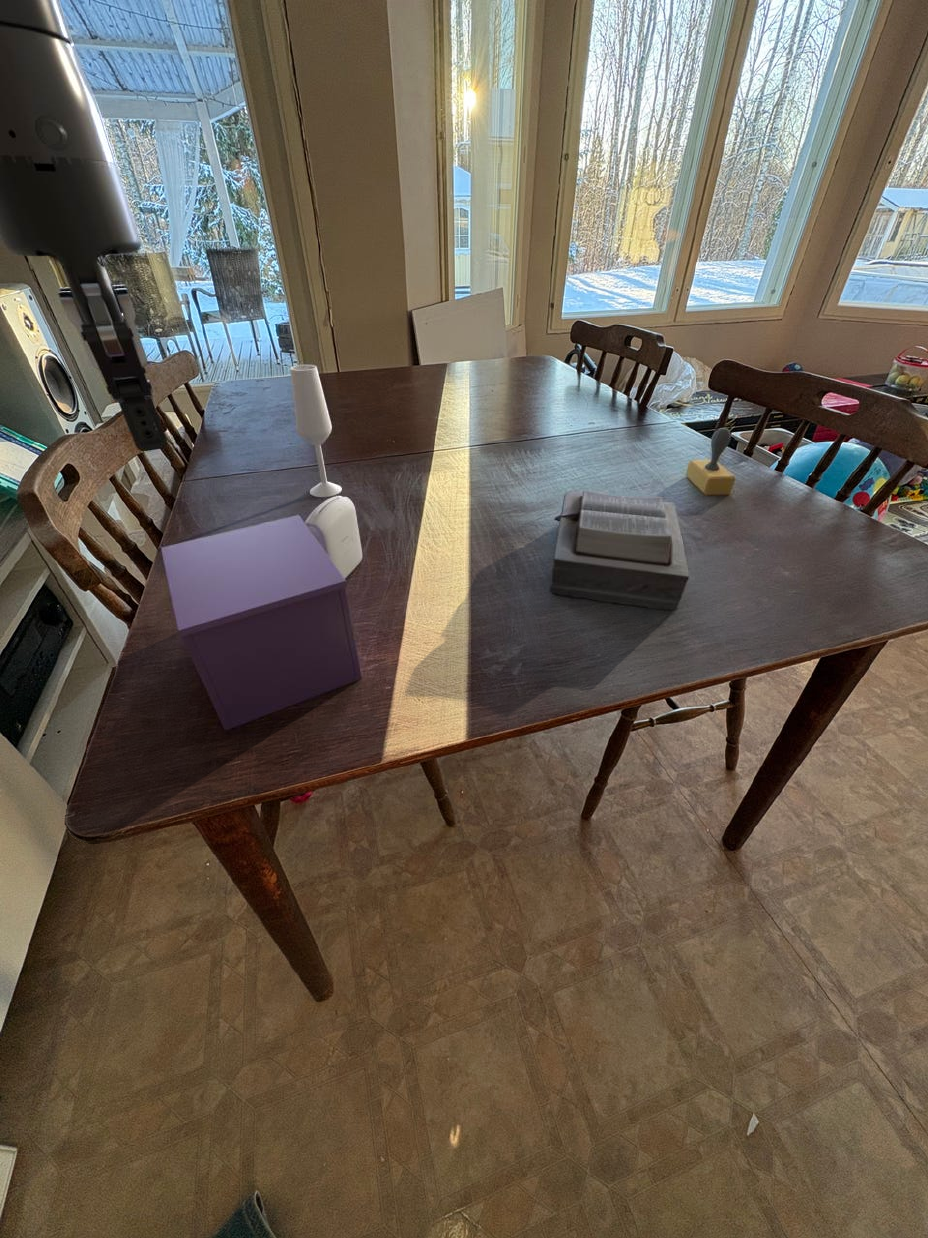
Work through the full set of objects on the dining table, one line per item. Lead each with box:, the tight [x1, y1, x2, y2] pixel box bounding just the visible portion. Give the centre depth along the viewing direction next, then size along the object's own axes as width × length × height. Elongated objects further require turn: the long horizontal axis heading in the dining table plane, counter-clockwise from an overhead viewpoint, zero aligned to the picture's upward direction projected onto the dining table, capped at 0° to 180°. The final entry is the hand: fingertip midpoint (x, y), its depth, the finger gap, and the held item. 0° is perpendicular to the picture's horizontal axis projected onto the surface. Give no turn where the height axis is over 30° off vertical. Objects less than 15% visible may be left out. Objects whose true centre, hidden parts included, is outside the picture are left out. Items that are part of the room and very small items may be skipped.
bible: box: [549, 489, 690, 611], centre depth 83 cm, size 23×27×10 cm
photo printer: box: [304, 495, 363, 580], centre depth 80 cm, size 10×4×12 cm, turn 160°
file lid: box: [160, 514, 348, 638], centre depth 58 cm, size 18×17×1 cm
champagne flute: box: [289, 364, 343, 498], centre depth 101 cm, size 7×7×24 cm
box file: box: [181, 587, 363, 731], centre depth 63 cm, size 18×17×14 cm
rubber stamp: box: [685, 427, 736, 496], centre depth 106 cm, size 10×6×12 cm, turn 4°
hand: (153, 446), depth 41 cm, fingers closed
